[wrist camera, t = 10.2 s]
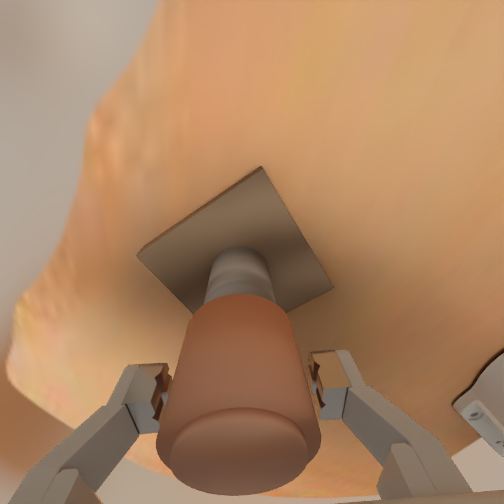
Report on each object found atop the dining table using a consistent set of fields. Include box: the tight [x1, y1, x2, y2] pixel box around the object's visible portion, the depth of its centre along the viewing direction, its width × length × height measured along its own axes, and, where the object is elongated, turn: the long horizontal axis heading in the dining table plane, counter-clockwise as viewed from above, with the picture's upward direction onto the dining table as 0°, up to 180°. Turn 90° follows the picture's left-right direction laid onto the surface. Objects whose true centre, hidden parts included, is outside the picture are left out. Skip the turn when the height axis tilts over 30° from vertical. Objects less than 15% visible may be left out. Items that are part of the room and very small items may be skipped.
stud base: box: [136, 166, 334, 314], centre depth 15 cm, size 10×10×8 cm
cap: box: [156, 294, 321, 496], centre depth 9 cm, size 5×5×5 cm
